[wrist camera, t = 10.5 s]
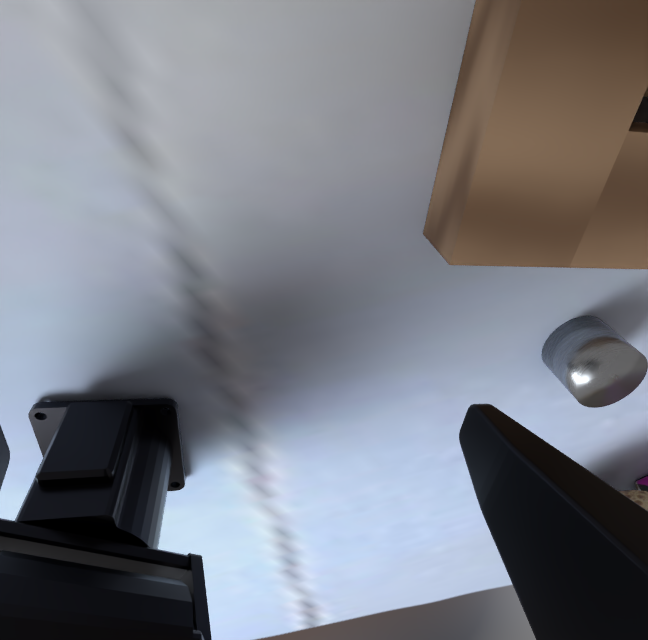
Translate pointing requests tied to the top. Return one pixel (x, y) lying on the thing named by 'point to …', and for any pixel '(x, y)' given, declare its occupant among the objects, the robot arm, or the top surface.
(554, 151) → the hole block
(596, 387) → the grey metal cylinder
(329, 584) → the top surface
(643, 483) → the candy bar box
